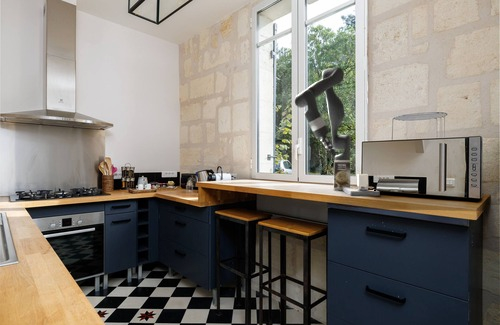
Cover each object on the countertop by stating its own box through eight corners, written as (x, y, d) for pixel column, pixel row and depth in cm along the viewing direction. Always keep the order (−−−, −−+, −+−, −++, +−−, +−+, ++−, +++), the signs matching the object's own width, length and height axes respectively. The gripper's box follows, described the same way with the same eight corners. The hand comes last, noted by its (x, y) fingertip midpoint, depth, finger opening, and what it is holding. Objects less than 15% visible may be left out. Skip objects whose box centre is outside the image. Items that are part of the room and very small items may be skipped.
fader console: (343, 191, 153) (343, 187, 153) (368, 191, 151) (368, 187, 151) (350, 195, 132) (350, 191, 132) (379, 195, 130) (379, 191, 130)
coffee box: (333, 190, 159) (333, 162, 159) (333, 189, 165) (333, 162, 165) (350, 190, 156) (350, 161, 156) (350, 189, 162) (349, 162, 162)
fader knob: (357, 189, 138) (357, 173, 138) (366, 189, 137) (366, 174, 137) (358, 190, 134) (358, 174, 134) (368, 190, 133) (368, 174, 133)
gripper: (327, 123, 135) (342, 153, 136) (324, 124, 149) (337, 150, 150) (313, 131, 137) (328, 160, 138) (311, 130, 151) (324, 156, 152)
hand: (333, 155), depth 144 cm, fingers open, 8 cm apart
